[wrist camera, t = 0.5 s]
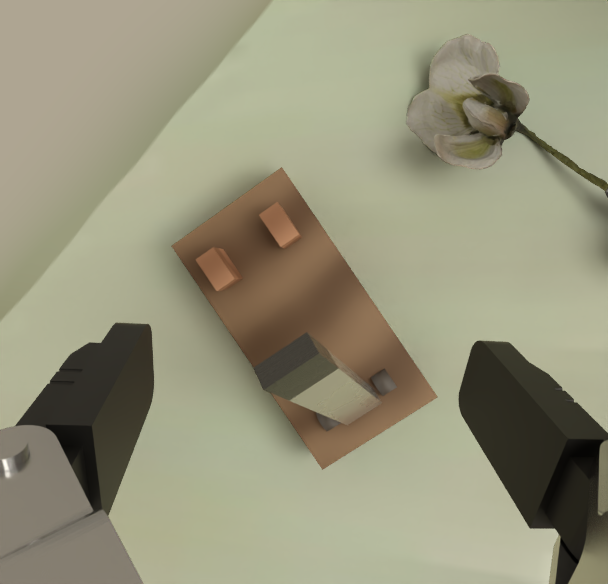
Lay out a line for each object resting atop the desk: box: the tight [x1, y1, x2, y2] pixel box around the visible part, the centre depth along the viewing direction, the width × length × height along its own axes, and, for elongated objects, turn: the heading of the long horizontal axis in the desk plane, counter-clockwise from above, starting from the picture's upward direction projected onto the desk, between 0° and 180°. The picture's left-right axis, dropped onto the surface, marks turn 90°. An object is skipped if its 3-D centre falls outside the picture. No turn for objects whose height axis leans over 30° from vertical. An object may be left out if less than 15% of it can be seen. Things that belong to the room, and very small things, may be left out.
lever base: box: [172, 167, 437, 470], centre depth 33 cm, size 20×10×7 cm, turn 34°
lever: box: [254, 332, 382, 425], centre depth 26 cm, size 14×3×1 cm
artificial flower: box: [406, 34, 608, 197], centre depth 31 cm, size 9×22×10 cm, turn 53°
